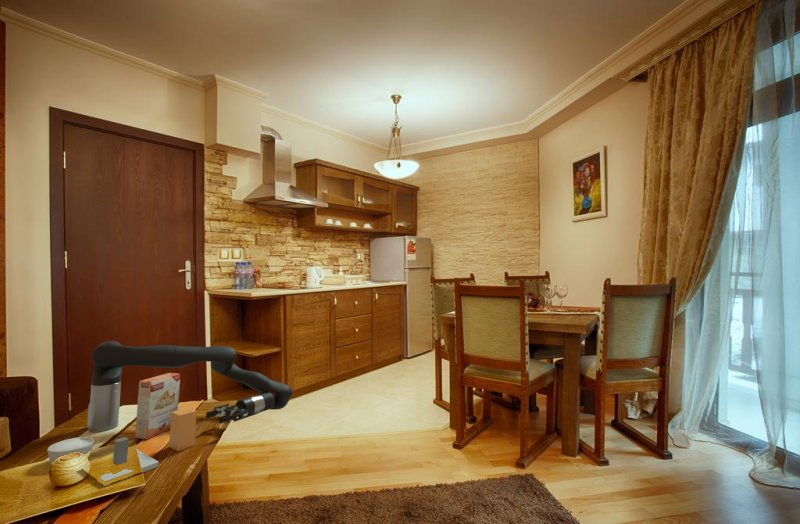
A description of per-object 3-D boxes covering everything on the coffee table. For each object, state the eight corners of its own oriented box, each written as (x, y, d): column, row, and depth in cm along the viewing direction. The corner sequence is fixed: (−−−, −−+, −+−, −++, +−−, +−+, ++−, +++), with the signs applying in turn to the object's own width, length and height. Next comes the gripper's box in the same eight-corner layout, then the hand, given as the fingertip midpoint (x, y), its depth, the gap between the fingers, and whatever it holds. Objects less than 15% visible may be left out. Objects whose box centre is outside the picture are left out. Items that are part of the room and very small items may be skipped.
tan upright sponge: (169, 446, 130) (171, 412, 131) (186, 441, 135) (187, 407, 135) (177, 451, 127) (179, 415, 127) (194, 445, 132) (196, 410, 132)
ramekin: (101, 454, 123) (102, 438, 124) (65, 471, 112) (66, 453, 113) (75, 451, 126) (76, 435, 126) (36, 466, 115) (38, 449, 115)
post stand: (80, 468, 114) (82, 440, 115) (132, 451, 126) (134, 425, 126) (104, 486, 104) (106, 455, 105) (158, 466, 116) (160, 439, 117)
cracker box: (148, 440, 135) (151, 382, 136) (134, 438, 136) (137, 380, 137) (178, 426, 148) (181, 373, 150) (165, 424, 150) (168, 371, 151)
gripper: (240, 394, 158) (202, 404, 144) (261, 400, 150) (224, 411, 137) (239, 412, 157) (201, 423, 144) (260, 419, 150) (223, 432, 136)
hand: (212, 417), depth 140 cm, fingers open, 8 cm apart
